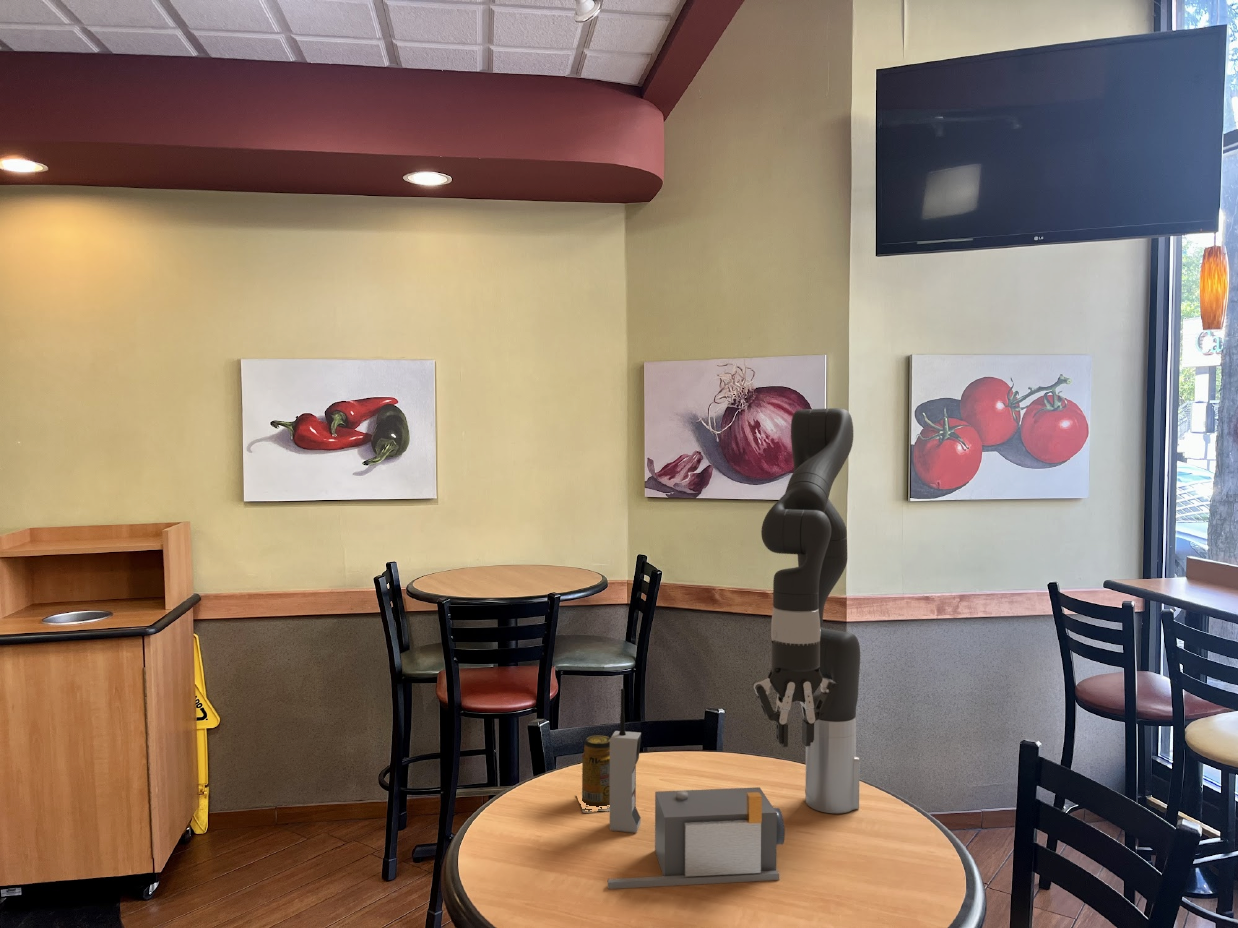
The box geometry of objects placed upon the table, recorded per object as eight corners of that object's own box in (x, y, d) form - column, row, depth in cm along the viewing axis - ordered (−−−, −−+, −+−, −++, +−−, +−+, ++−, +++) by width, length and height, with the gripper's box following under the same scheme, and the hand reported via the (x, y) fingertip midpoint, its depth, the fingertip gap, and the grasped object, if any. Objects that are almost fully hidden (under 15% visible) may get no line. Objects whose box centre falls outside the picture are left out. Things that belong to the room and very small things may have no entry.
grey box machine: (770, 844, 145) (771, 782, 145) (791, 879, 133) (792, 811, 133) (601, 852, 142) (602, 788, 142) (608, 888, 130) (608, 819, 130)
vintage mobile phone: (637, 833, 149) (637, 692, 148) (609, 830, 150) (609, 690, 149) (640, 824, 153) (641, 686, 152) (613, 821, 154) (614, 684, 153)
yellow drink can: (611, 792, 167) (612, 732, 166) (621, 810, 158) (621, 746, 158) (575, 795, 165) (575, 734, 165) (582, 814, 157) (583, 749, 157)
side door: (758, 868, 134) (759, 791, 134) (761, 873, 133) (761, 796, 132) (683, 872, 133) (684, 795, 133) (685, 877, 131) (686, 799, 131)
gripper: (830, 630, 138) (829, 735, 138) (745, 631, 136) (745, 738, 137) (847, 640, 130) (846, 752, 131) (758, 642, 129) (757, 755, 129)
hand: (794, 744), depth 134 cm, fingers open, 3 cm apart
